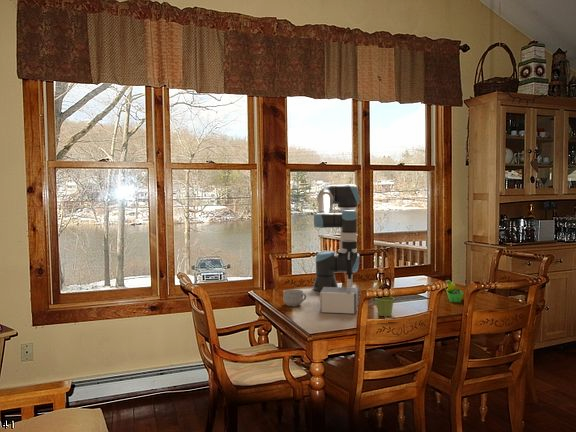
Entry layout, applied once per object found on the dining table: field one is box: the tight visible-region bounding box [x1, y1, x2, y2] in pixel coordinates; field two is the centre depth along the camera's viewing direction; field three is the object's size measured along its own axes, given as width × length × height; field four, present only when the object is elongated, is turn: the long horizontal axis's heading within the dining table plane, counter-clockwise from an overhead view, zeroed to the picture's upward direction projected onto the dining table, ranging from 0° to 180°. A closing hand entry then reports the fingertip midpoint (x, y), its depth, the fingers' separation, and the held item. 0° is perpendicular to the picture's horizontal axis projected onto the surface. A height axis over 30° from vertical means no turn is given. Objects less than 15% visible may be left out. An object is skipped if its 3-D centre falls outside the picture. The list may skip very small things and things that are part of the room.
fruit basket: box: [445, 279, 464, 303], centre depth 255 cm, size 11×9×11 cm
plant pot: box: [374, 296, 395, 318], centre depth 226 cm, size 9×9×9 cm
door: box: [319, 278, 355, 315], centre depth 231 cm, size 2×17×17 cm, turn 78°
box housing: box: [320, 286, 359, 315], centre depth 239 cm, size 14×18×10 cm
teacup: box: [282, 289, 307, 307], centre depth 248 cm, size 14×11×8 cm
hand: (349, 286), depth 235 cm, fingers closed
